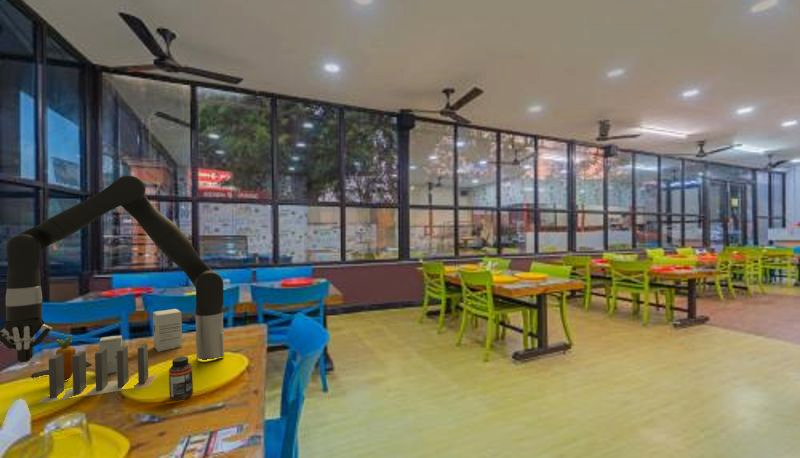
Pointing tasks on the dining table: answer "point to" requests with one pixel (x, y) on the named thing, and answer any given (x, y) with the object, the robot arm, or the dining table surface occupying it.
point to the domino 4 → (143, 363)
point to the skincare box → (111, 350)
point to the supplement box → (167, 329)
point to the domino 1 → (79, 372)
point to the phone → (48, 371)
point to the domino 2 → (101, 369)
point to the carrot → (66, 356)
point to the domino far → (56, 375)
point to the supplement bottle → (180, 379)
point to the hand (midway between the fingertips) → (25, 361)
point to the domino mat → (110, 387)
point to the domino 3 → (122, 366)
